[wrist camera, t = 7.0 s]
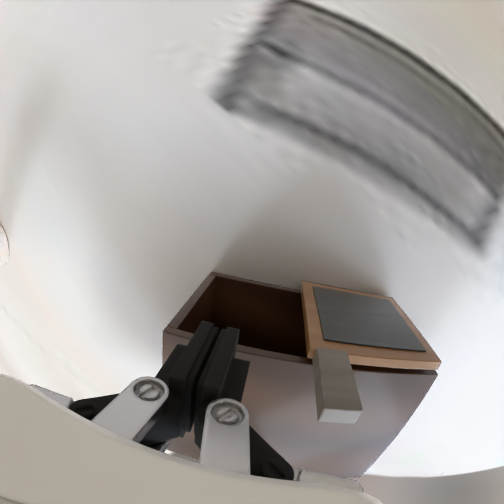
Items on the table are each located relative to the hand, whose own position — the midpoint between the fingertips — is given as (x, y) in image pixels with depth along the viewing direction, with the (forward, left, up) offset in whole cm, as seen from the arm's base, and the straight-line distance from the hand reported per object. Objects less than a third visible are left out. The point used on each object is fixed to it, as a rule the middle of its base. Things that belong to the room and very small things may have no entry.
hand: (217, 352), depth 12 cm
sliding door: (-8, 0, -11) cm, 14 cm away
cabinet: (-5, +7, -12) cm, 14 cm away
